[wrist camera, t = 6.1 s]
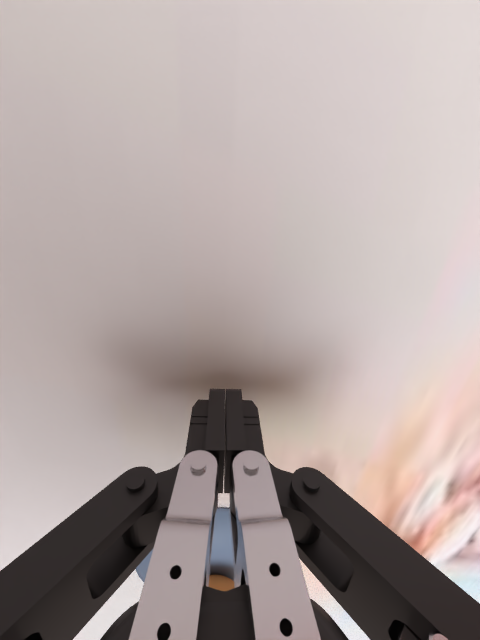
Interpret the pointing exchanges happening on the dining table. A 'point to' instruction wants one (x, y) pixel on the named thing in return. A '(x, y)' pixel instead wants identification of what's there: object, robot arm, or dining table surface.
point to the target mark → (220, 549)
